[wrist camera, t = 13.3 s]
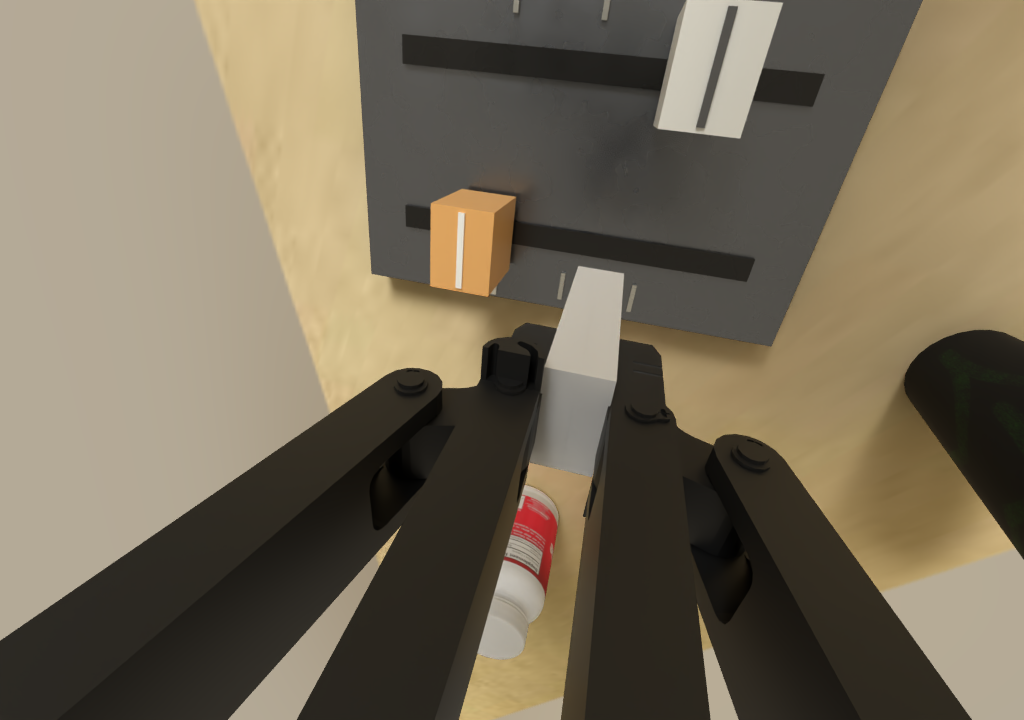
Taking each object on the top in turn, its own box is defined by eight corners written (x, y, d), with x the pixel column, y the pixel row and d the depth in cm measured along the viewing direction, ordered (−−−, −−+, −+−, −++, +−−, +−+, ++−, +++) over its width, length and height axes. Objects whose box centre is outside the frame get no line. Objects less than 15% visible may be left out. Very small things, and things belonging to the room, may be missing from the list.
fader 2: (677, 18, 19) (688, -5, 15) (752, 24, 18) (784, 2, 15) (653, 125, 21) (657, 128, 17) (720, 133, 20) (740, 138, 17)
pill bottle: (534, 544, 40) (504, 677, 31) (476, 508, 40) (428, 632, 30) (574, 508, 37) (554, 644, 28) (512, 468, 37) (470, 593, 27)
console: (372, -48, 22) (348, -63, 20) (906, -13, 19) (937, -27, 17) (386, 264, 30) (369, 274, 28) (762, 331, 27) (772, 348, 25)
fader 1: (462, 188, 24) (429, 203, 20) (516, 196, 24) (493, 213, 20) (459, 261, 26) (429, 286, 22) (509, 269, 26) (487, 297, 22)
